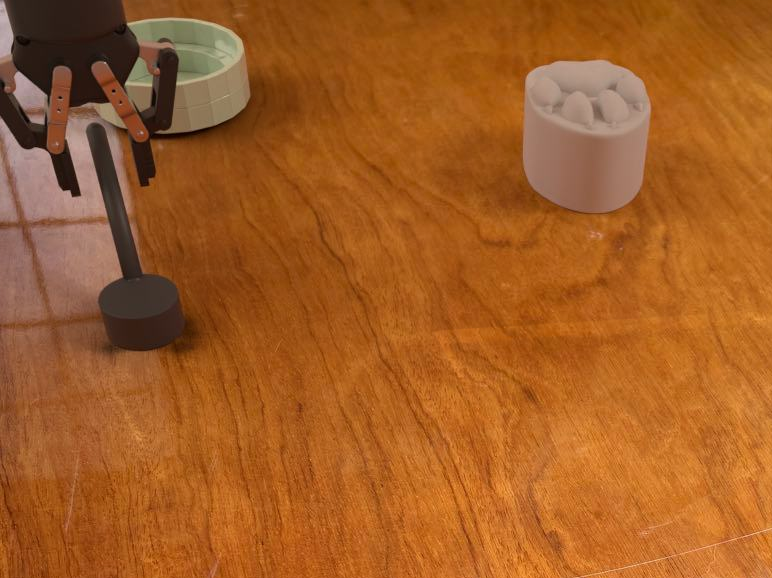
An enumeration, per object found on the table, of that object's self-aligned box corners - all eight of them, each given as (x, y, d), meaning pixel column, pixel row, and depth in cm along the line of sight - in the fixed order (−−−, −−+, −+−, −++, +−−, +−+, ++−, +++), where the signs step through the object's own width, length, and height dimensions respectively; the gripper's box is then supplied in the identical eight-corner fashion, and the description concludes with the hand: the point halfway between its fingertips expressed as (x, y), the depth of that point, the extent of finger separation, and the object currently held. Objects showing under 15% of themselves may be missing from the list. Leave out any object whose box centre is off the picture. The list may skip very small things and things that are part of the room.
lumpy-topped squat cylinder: (625, 136, 109) (634, 45, 103) (656, 210, 101) (669, 115, 94) (515, 141, 108) (518, 48, 102) (538, 216, 99) (543, 119, 93)
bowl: (162, 156, 103) (151, 102, 100) (63, 103, 109) (49, 50, 105) (282, 101, 111) (275, 49, 108) (183, 55, 117) (174, 4, 113)
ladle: (191, 342, 85) (165, 222, 78) (112, 356, 84) (78, 236, 76) (156, 229, 95) (131, 114, 88) (85, 240, 94) (53, 124, 86)
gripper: (153, -78, 81) (195, 150, 94) (-68, -59, 77) (6, 176, 90) (171, -38, 76) (213, 197, 89) (-63, -15, 72) (15, 227, 85)
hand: (109, 185), depth 89 cm, fingers open, 4 cm apart
